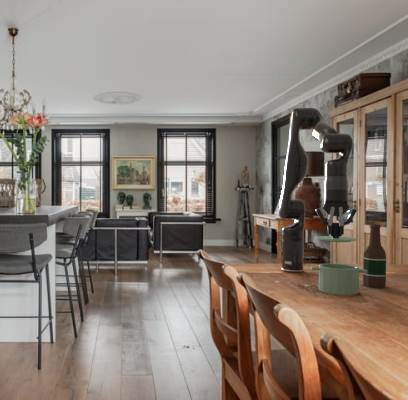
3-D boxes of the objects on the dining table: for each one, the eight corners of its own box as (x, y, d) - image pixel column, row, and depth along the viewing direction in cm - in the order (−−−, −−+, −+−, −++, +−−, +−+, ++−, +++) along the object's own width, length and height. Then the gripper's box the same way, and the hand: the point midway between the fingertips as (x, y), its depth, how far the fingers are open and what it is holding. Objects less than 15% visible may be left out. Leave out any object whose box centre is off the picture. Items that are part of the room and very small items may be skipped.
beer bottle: (378, 289, 164) (379, 225, 164) (358, 285, 171) (359, 224, 171) (390, 287, 168) (391, 224, 168) (370, 283, 175) (371, 223, 175)
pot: (309, 287, 168) (309, 262, 168) (362, 290, 162) (363, 265, 162) (312, 294, 156) (313, 267, 156) (370, 298, 150) (370, 270, 150)
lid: (313, 238, 168) (313, 221, 168) (353, 239, 163) (353, 222, 163) (317, 241, 155) (317, 223, 155) (360, 243, 150) (360, 224, 150)
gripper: (355, 188, 160) (355, 235, 160) (313, 188, 165) (313, 234, 165) (359, 188, 153) (359, 237, 153) (316, 188, 158) (315, 236, 158)
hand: (335, 235), depth 159 cm, fingers closed on lid, 2 cm apart
